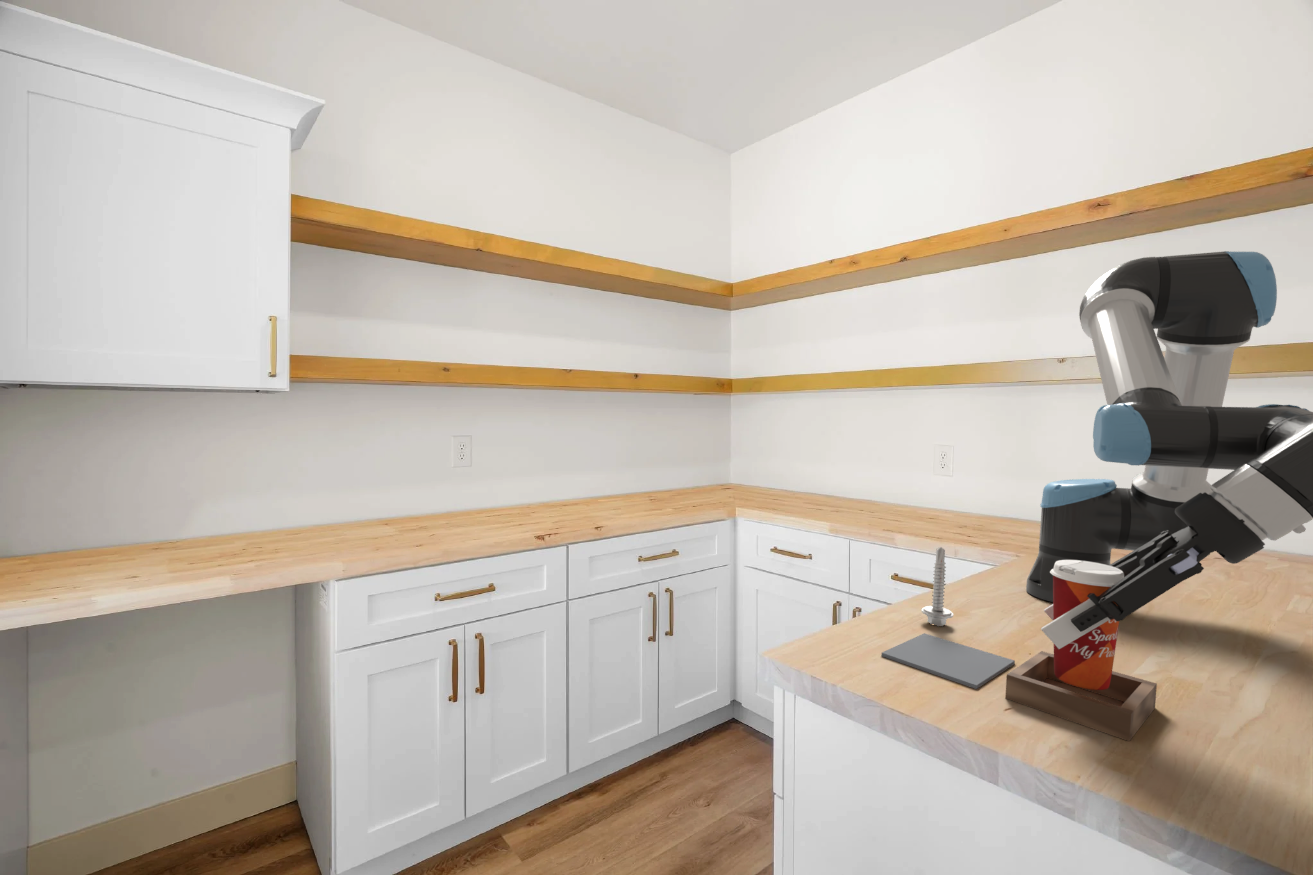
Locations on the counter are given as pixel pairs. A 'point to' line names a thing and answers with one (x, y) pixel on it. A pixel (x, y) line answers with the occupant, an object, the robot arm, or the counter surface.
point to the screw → (938, 593)
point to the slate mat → (949, 660)
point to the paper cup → (1095, 650)
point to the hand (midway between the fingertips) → (1051, 628)
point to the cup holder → (1083, 698)
